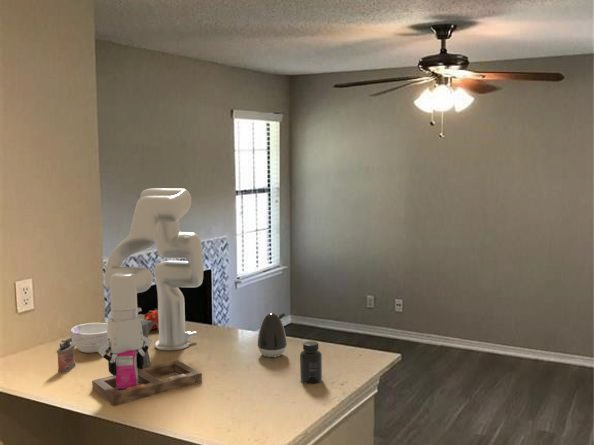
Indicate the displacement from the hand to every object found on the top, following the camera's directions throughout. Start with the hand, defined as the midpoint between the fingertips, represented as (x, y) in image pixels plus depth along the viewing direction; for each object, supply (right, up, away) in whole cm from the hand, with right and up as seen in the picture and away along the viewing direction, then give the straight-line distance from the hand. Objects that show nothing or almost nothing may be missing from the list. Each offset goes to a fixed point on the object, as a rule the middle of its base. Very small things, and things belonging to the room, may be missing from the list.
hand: (126, 370), depth 196 cm
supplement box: (0, -5, +1) cm, 5 cm away
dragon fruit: (-6, +2, +66) cm, 67 cm away
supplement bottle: (+56, -5, +10) cm, 57 cm away
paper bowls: (-23, -2, +41) cm, 47 cm away
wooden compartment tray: (+5, -6, +5) cm, 9 cm away
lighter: (-25, -4, +20) cm, 33 cm away
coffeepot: (-4, -4, +22) cm, 23 cm away
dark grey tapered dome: (+42, -2, +34) cm, 54 cm away
